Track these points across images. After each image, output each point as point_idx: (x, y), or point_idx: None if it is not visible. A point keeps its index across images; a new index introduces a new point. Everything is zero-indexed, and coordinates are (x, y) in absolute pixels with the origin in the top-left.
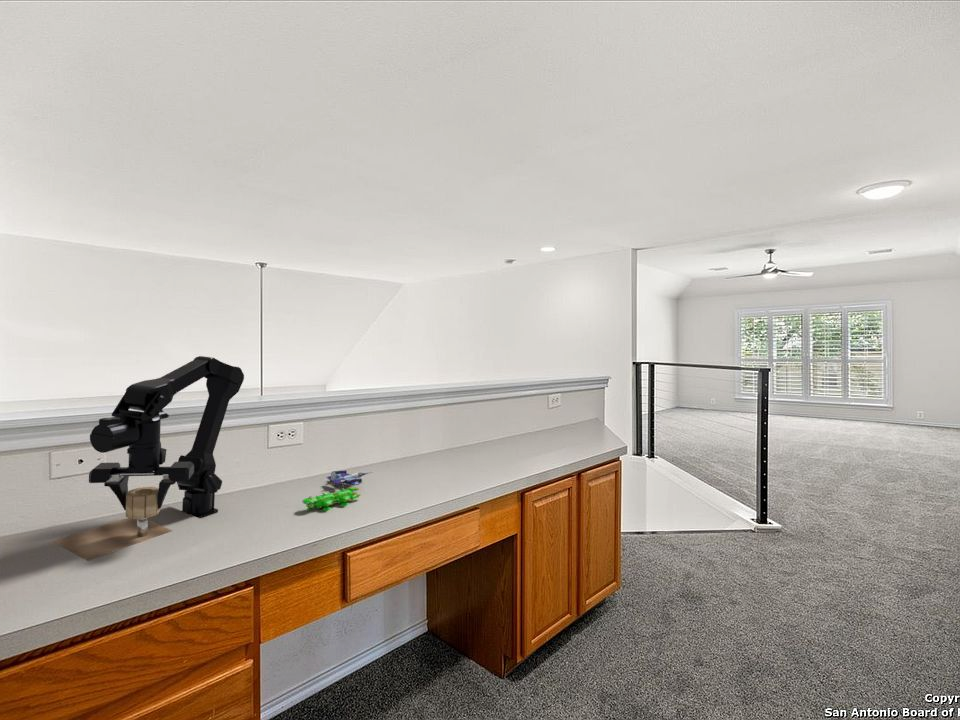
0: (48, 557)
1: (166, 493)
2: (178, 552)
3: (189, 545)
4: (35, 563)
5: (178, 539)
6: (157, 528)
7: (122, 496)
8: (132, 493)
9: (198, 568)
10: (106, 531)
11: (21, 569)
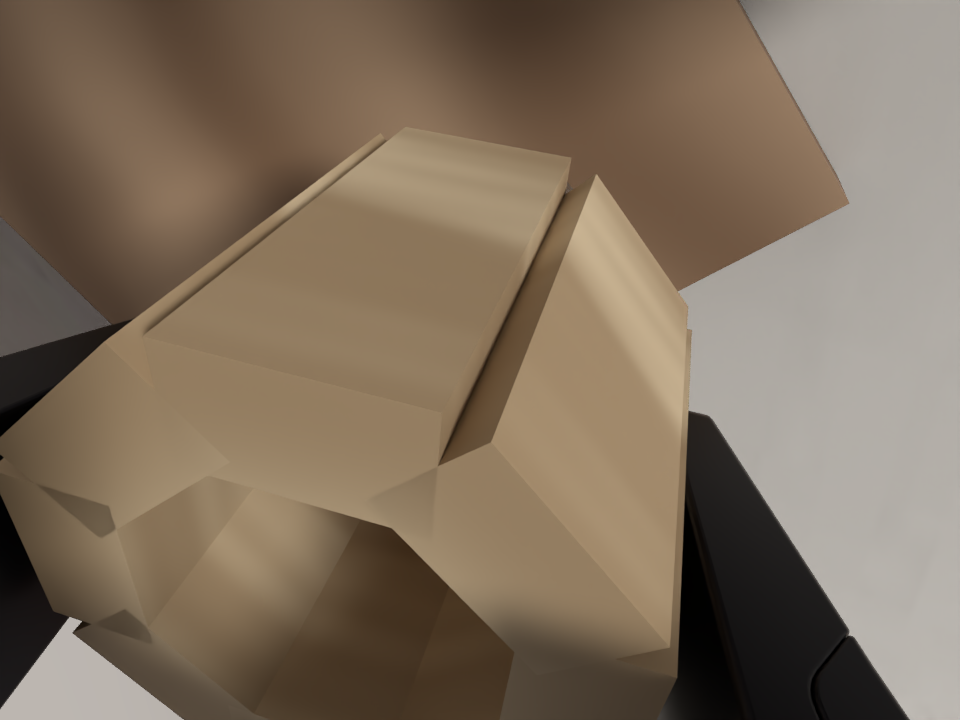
0: (30, 251)
1: (831, 630)
2: (836, 490)
3: (957, 414)
4: (19, 307)
5: (886, 255)
6: (678, 79)
7: (56, 619)
8: (145, 628)
9: (919, 708)
10: (177, 9)
11: (5, 351)
